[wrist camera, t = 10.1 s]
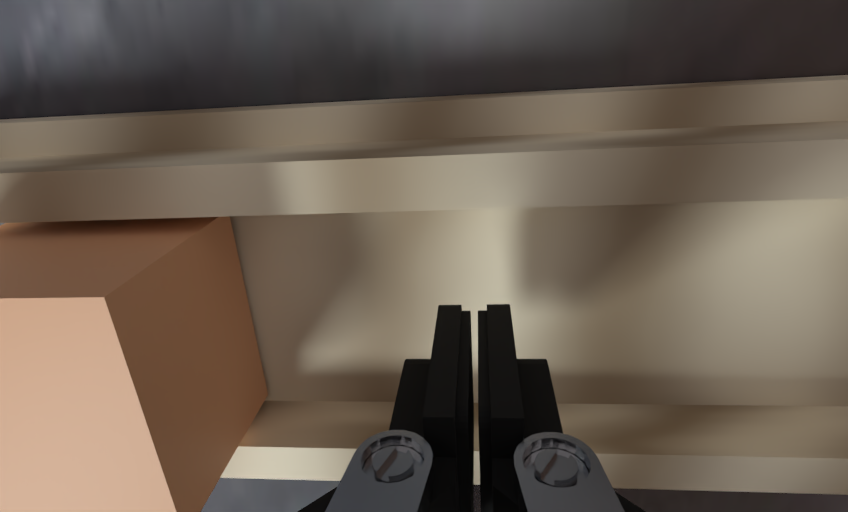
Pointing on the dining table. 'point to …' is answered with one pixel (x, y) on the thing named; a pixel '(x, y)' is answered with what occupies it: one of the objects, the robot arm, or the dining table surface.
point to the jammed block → (122, 363)
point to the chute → (514, 259)
